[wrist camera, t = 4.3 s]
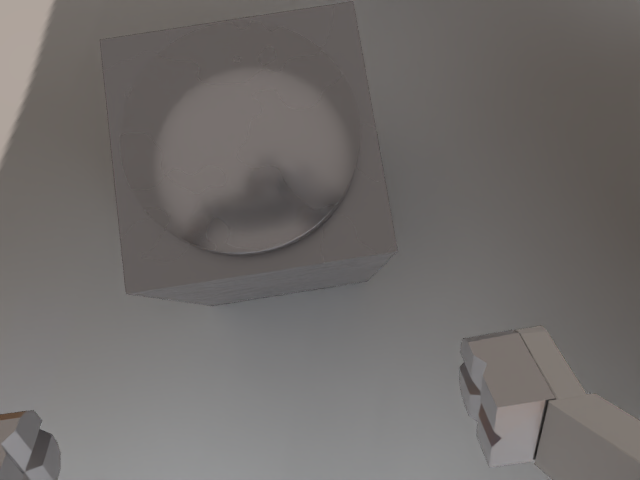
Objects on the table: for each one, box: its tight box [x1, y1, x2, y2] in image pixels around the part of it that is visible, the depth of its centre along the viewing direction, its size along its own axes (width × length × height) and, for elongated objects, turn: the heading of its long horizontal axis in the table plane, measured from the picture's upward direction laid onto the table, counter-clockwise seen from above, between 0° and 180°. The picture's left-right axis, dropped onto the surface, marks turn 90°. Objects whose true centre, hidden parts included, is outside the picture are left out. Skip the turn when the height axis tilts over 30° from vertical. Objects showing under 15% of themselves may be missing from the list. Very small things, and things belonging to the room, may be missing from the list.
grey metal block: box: [100, 1, 398, 306], centre depth 17 cm, size 6×6×10 cm
